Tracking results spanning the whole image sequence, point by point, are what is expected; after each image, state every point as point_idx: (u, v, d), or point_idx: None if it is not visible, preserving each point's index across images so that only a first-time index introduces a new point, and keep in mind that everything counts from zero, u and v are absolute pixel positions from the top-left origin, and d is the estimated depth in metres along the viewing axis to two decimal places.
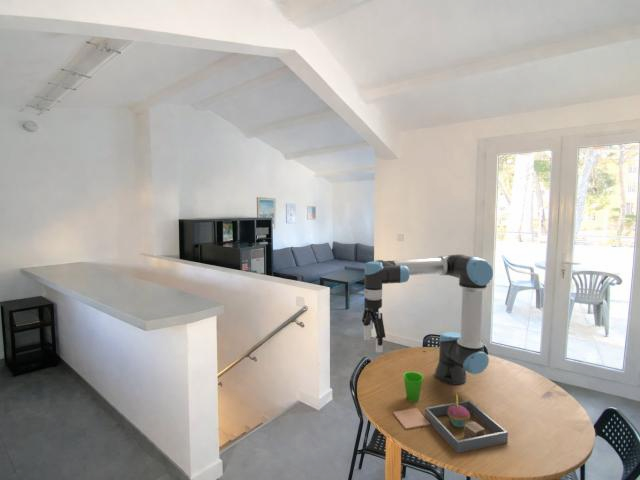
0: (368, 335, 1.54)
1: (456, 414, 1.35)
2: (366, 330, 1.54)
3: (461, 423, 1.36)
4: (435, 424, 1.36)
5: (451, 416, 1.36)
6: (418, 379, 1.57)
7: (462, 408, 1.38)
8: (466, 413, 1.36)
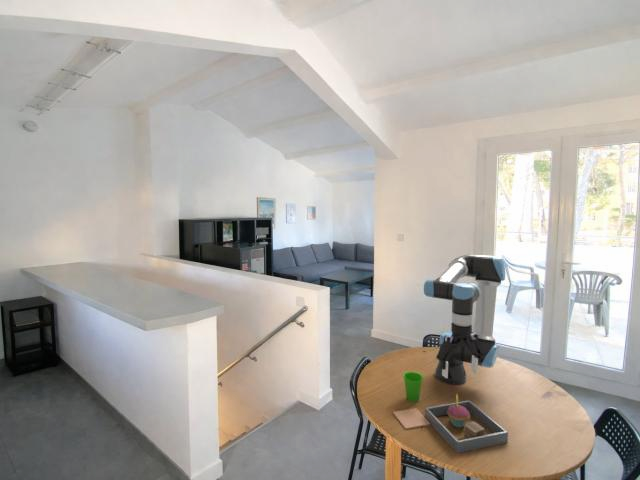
0: (474, 368, 1.37)
1: (456, 414, 1.35)
2: (473, 361, 1.38)
3: (461, 423, 1.36)
4: (435, 424, 1.36)
5: (451, 416, 1.36)
6: (418, 379, 1.57)
7: (462, 408, 1.38)
8: (466, 413, 1.36)
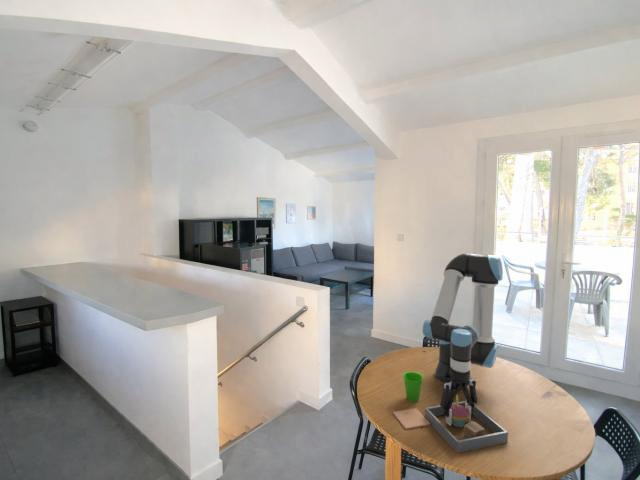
0: None
1: (457, 414, 1.35)
2: None
3: (461, 423, 1.36)
4: (435, 424, 1.36)
5: None
6: (418, 379, 1.57)
7: (462, 408, 1.38)
8: (466, 413, 1.36)
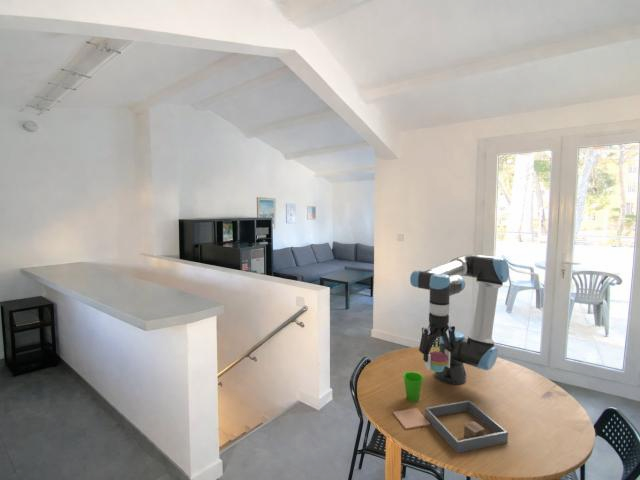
0: None
1: (435, 359, 1.35)
2: None
3: (440, 368, 1.35)
4: (435, 424, 1.36)
5: (430, 361, 1.35)
6: (418, 379, 1.57)
7: (441, 354, 1.37)
8: (445, 358, 1.35)
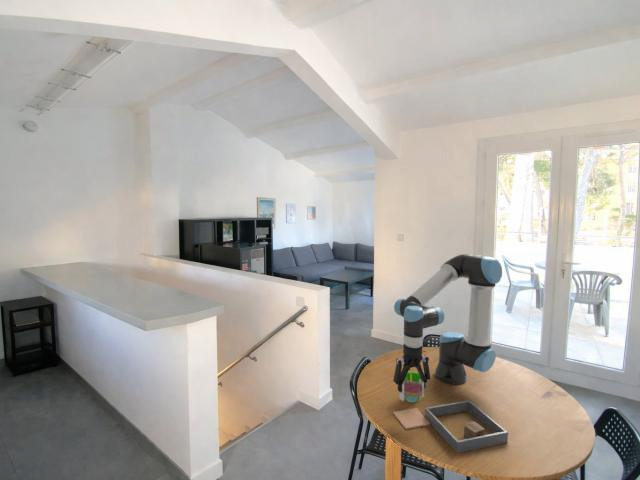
0: None
1: (409, 389, 1.38)
2: (420, 385, 1.42)
3: (414, 398, 1.38)
4: (435, 424, 1.36)
5: (404, 391, 1.38)
6: (418, 379, 1.57)
7: (415, 384, 1.40)
8: (418, 388, 1.38)
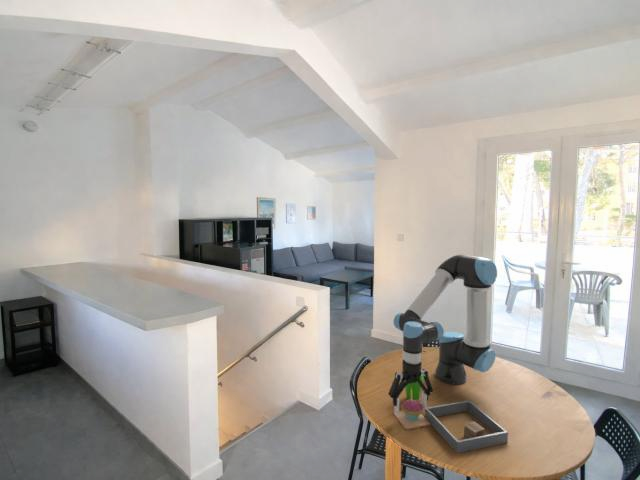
0: (424, 404, 1.42)
1: (410, 408, 1.38)
2: (422, 397, 1.43)
3: (414, 417, 1.39)
4: (435, 424, 1.36)
5: (405, 410, 1.39)
6: None
7: (416, 402, 1.41)
8: (419, 407, 1.39)
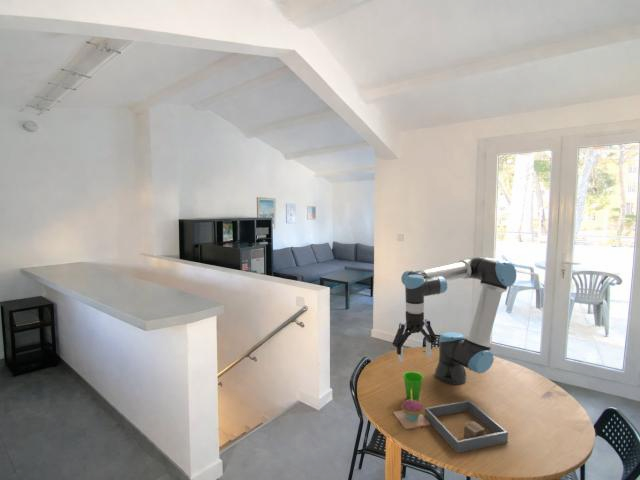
0: (428, 352, 1.49)
1: (410, 408, 1.38)
2: (427, 346, 1.49)
3: (414, 417, 1.39)
4: (435, 424, 1.36)
5: (405, 410, 1.39)
6: (418, 379, 1.57)
7: (416, 402, 1.41)
8: (419, 407, 1.39)
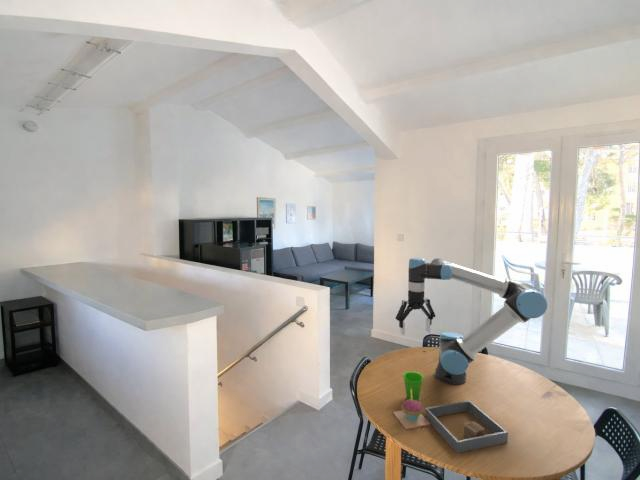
0: (427, 327, 1.67)
1: (410, 408, 1.38)
2: (426, 322, 1.68)
3: (414, 417, 1.39)
4: (435, 424, 1.36)
5: (405, 410, 1.39)
6: (418, 379, 1.58)
7: (416, 402, 1.41)
8: (419, 407, 1.39)
